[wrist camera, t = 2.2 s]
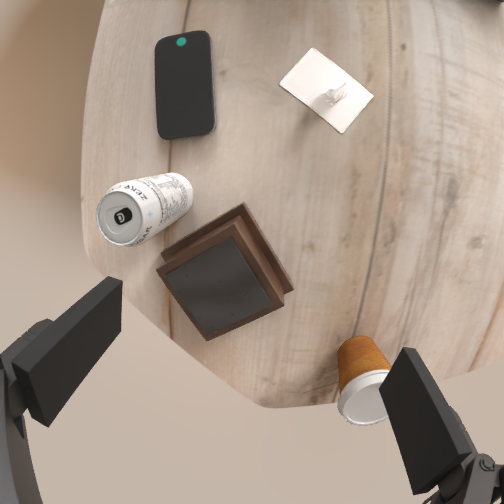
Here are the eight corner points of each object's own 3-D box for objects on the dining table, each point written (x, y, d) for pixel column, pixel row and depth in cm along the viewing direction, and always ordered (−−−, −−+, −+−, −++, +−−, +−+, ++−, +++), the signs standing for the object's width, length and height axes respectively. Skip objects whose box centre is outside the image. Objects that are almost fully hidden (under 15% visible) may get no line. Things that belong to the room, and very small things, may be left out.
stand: (164, 249, 40) (142, 268, 33) (244, 201, 37) (236, 211, 30) (214, 323, 43) (203, 352, 36) (293, 284, 40) (296, 311, 33)
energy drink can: (146, 183, 38) (81, 201, 23) (185, 164, 36) (132, 171, 22) (163, 224, 39) (107, 261, 25) (202, 207, 38) (160, 238, 24)
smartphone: (209, 27, 29) (215, 133, 34) (210, 30, 30) (217, 134, 35) (154, 39, 30) (157, 141, 35) (156, 41, 31) (160, 142, 36)
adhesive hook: (334, 109, 33) (339, 105, 30) (318, 96, 32) (322, 91, 30) (348, 93, 32) (354, 88, 29) (332, 80, 32) (337, 74, 29)
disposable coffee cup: (362, 315, 41) (386, 366, 30) (395, 348, 42) (420, 397, 31) (315, 354, 44) (323, 410, 32) (351, 382, 45) (364, 435, 34)
